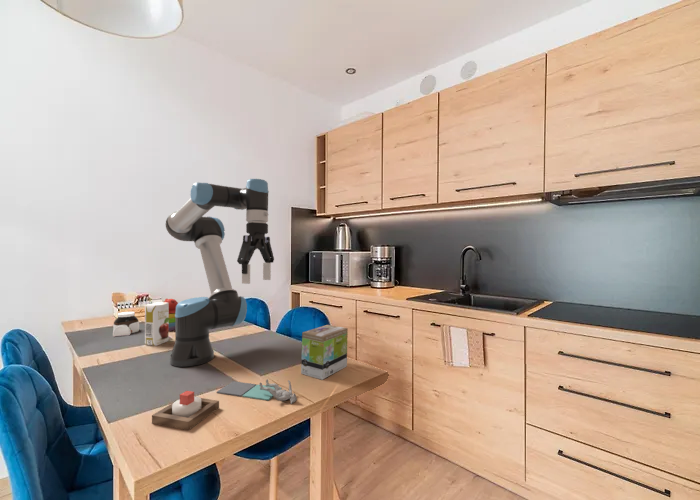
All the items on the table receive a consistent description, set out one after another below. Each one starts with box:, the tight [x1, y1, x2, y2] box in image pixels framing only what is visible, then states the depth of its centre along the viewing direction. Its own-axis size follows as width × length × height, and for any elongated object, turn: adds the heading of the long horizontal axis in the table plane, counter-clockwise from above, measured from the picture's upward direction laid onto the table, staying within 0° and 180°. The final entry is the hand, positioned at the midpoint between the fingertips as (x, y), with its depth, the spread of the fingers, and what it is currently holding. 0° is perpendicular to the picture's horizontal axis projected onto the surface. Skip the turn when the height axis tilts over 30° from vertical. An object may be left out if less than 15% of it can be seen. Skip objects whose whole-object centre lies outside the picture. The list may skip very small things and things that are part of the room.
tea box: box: [300, 324, 349, 381], centre depth 114 cm, size 15×10×15 cm
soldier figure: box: [259, 378, 298, 405], centre depth 93 cm, size 8×5×12 cm
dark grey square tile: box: [216, 380, 257, 398], centre depth 98 cm, size 8×8×1 cm
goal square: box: [242, 383, 283, 401], centre depth 96 cm, size 8×8×1 cm
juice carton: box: [144, 301, 170, 347], centre depth 142 cm, size 8×9×19 cm
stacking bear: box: [163, 298, 179, 332], centre depth 163 cm, size 11×10×18 cm
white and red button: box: [171, 390, 202, 418], centre depth 83 cm, size 7×7×6 cm
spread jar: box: [112, 311, 140, 338], centre depth 155 cm, size 12×11×12 cm
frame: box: [151, 397, 220, 431], centre depth 83 cm, size 11×11×2 cm
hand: (257, 281), depth 114 cm, fingers open, 13 cm apart
